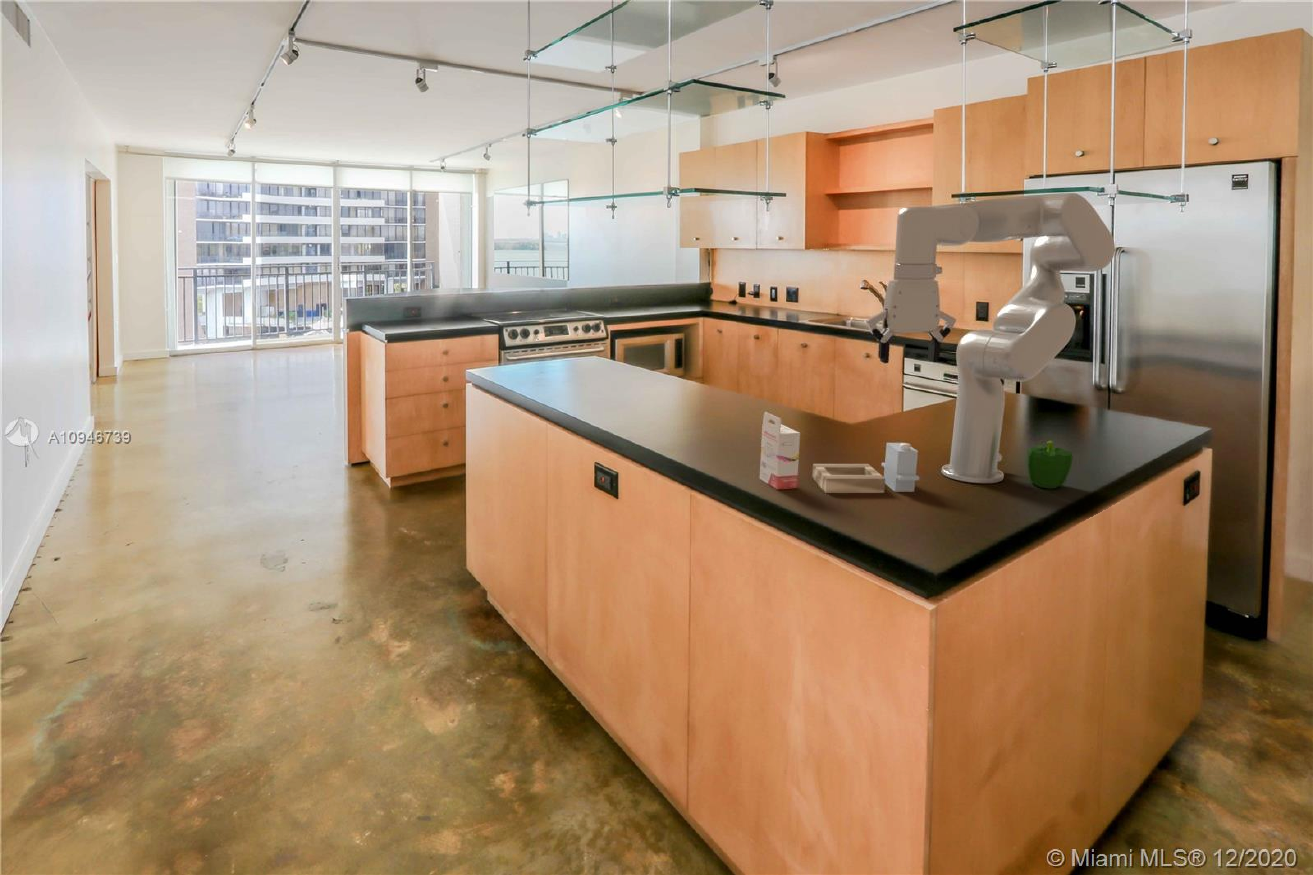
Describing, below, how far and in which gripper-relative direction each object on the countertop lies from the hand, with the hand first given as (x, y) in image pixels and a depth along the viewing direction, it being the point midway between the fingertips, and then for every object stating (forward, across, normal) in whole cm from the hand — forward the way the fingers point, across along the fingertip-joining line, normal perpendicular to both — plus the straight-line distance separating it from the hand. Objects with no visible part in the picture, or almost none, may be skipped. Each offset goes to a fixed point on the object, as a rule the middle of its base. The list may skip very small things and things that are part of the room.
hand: (908, 361), depth 155 cm
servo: (+26, 0, -1) cm, 26 cm away
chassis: (+26, +10, -2) cm, 28 cm away
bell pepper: (+27, -32, -2) cm, 42 cm away
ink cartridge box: (+26, +25, -3) cm, 36 cm away
